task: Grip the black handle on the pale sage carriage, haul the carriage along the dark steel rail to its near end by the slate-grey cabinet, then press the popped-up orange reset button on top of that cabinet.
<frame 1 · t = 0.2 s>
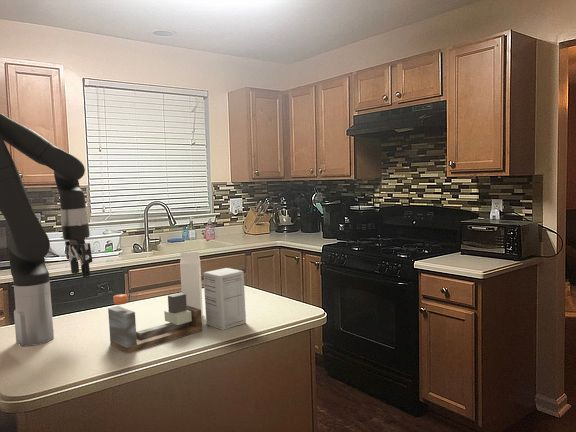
hand: (80, 274, 147), 17 cm above the counter, tool pointing down, fingers open, 8 cm apart
reset button: (120, 299, 129), point 14 cm above the counter, slide at 0.0 cm
supplement box: (226, 324, 149), on the counter
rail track: (157, 337, 138), on the counter
carriage: (177, 307, 142), point 7 cm above the counter, slide at 7.0 cm
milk: (193, 318, 157), on the counter
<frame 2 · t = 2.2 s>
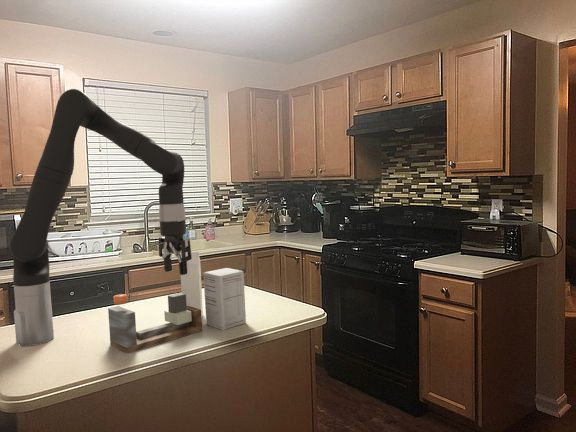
hand: (175, 272, 141), 18 cm above the counter, tool pointing down, fingers open, 8 cm apart
nothing on the counter moved.
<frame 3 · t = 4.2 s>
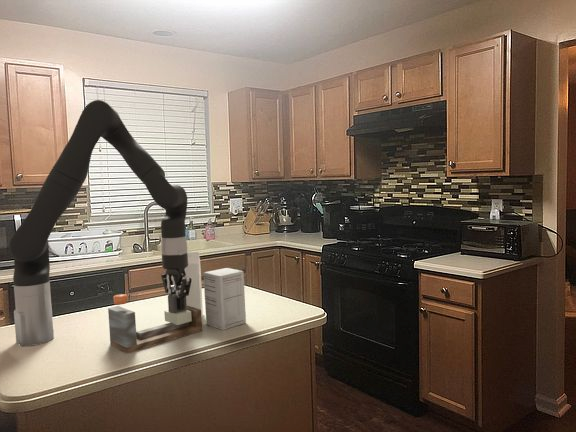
hand: (177, 308, 142), 7 cm above the counter, tool pointing down, fingers closed on carriage, 3 cm apart
carriage: (177, 307, 142), point 7 cm above the counter, slide at 7.0 cm, touching gripper
everything else where it was.
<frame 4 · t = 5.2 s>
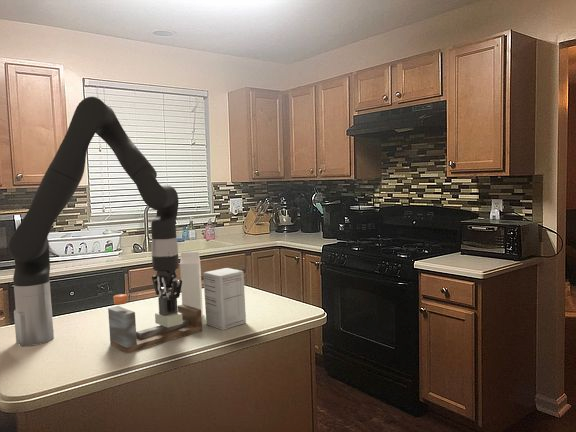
hand: (168, 310, 140), 7 cm above the counter, tool pointing down, fingers closed on carriage, 3 cm apart
carriage: (168, 310, 140), point 7 cm above the counter, slide at 3.9 cm, touching gripper
everything else where it was.
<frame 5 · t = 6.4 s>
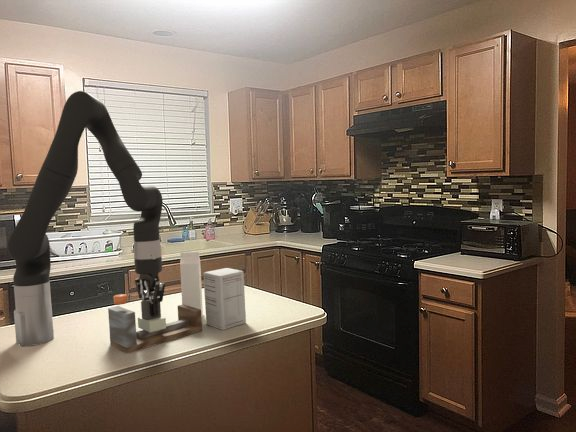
hand: (151, 314, 136), 7 cm above the counter, tool pointing down, fingers closed on carriage, 3 cm apart
carriage: (151, 314, 136), point 7 cm above the counter, slide at -1.7 cm, touching gripper
everything else where it was.
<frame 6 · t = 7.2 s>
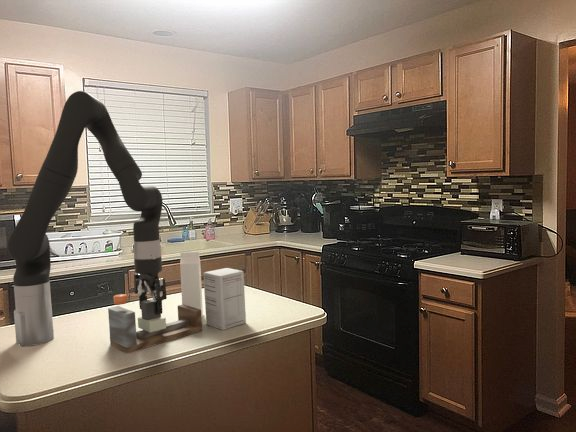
hand: (151, 311, 136), 8 cm above the counter, tool pointing down, fingers open, 8 cm apart
carriage: (151, 314, 136), point 7 cm above the counter, slide at -1.7 cm
everything else where it was.
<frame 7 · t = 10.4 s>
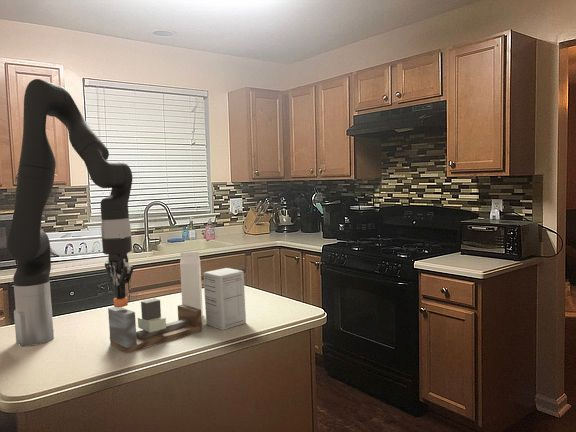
hand: (120, 298, 129), 14 cm above the counter, tool pointing down, fingers closed
reset button: (120, 301, 129), point 13 cm above the counter, slide at 0.7 cm, touching gripper
everything else where it was.
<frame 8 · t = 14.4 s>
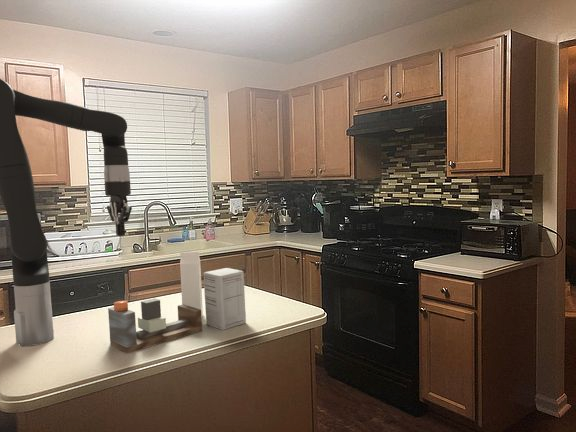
hand: (120, 235, 148), 29 cm above the counter, tool pointing down, fingers closed
reset button: (120, 306, 130), point 12 cm above the counter, slide at 1.8 cm
everything else where it was.
at the end: carriage slide at -1.7 cm; reset button slide at 1.8 cm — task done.
